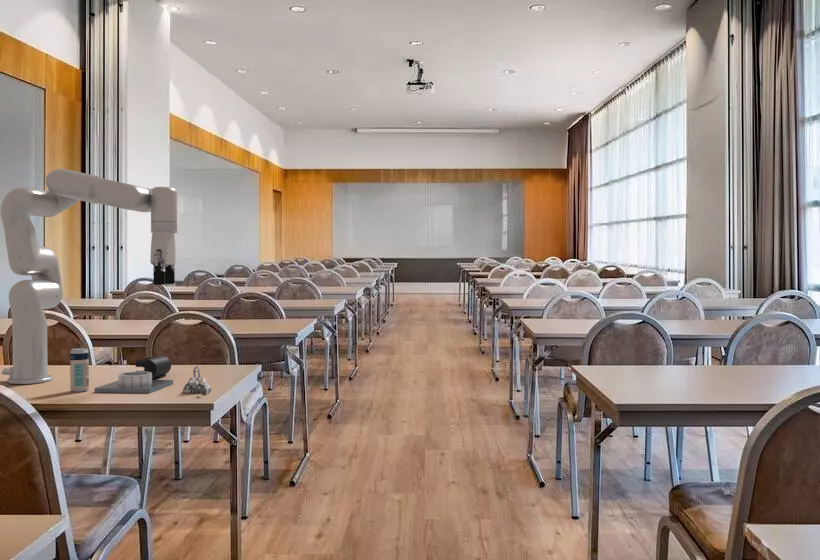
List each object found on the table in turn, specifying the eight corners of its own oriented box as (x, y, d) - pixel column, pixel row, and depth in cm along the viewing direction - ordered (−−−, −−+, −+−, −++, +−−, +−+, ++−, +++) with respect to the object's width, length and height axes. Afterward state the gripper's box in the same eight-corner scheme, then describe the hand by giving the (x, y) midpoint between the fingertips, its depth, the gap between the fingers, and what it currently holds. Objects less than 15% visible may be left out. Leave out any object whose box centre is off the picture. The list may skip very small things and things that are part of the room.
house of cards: (168, 396, 192) (168, 368, 192) (182, 391, 201) (182, 364, 201) (199, 397, 191) (199, 369, 191) (212, 391, 200) (212, 365, 200)
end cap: (156, 381, 217) (156, 359, 217) (134, 381, 218) (134, 359, 218) (171, 376, 227) (171, 355, 227) (150, 376, 228) (150, 355, 228)
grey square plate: (94, 392, 197) (94, 377, 197) (122, 383, 213) (122, 369, 213) (149, 393, 196) (149, 378, 195) (173, 383, 212) (173, 370, 211)
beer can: (84, 389, 203) (83, 347, 202) (92, 390, 200) (91, 348, 199) (67, 391, 199) (66, 349, 199) (75, 393, 196) (74, 350, 196)
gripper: (160, 229, 221) (160, 283, 222) (141, 226, 204) (142, 285, 204) (184, 229, 222) (184, 283, 222) (167, 226, 204) (168, 285, 205)
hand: (164, 284), depth 213 cm, fingers open, 9 cm apart
